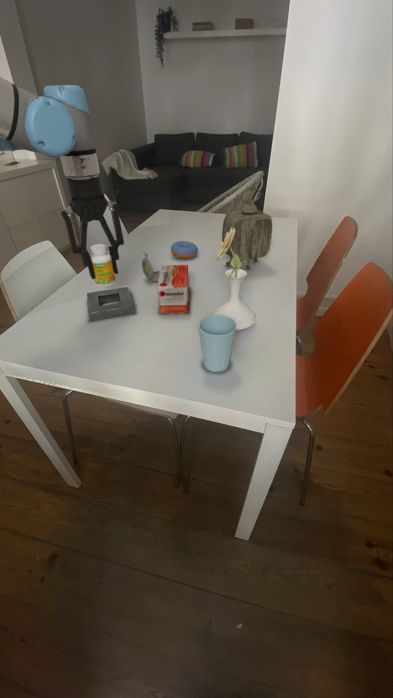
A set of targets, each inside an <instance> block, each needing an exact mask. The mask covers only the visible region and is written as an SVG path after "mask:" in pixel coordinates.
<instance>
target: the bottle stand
mask: <svg viewBox="0 0 393 698" xmlns="http://www.w3.org/2000/svg"><path fill="white" fill-rule="evenodd" d="M86 299H87V314H88V317H89V321H90V322H93V321H101V320H105V319H111V318H117V317H123V316H128V315H134V314H135V307H134V303H133V300H132V297H131V294H130V290H129V287H128V286H123V287H118V288H117V287H116V288H110V289H104V290H98V291H89V292H86ZM113 302H115V303H113ZM107 303H109V304H107ZM101 304H103V305H101Z"/></svg>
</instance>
